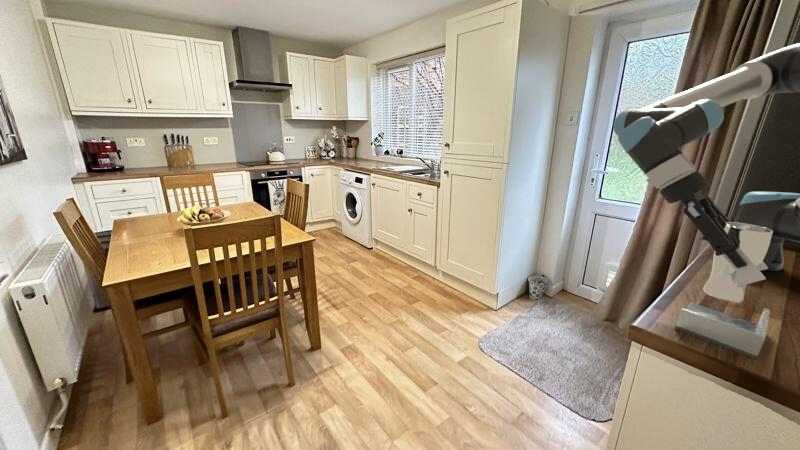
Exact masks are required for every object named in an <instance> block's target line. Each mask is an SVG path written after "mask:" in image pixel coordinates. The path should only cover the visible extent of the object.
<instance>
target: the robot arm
mask: <svg viewBox="0 0 800 450" xmlns="http://www.w3.org/2000/svg"><path fill="white" fill-rule="evenodd" d="M786 93H800V42H797V43H794V44H792V45H788V46H784V47H782V48H780V49H777V50H775V51H771V52H769V53H767V54H765V55H761V56H759V57H757V58H755V59H752V60H749V61H747V62H745V63H742V64H740V65H739V66H738V67H736V68H735V69H734V70H733V71H732V72H730V73H726V74H724V75H722V76H719V77H717V78H715V79H712V80H710V81H707V82H704V83H702V84H699V85H697V86H695V87H693V88H690V89H688V90H685V91H682V92H680V93H677V94H674V95H672V96H669V97H667V98H665V99H662V100H659V101H656V102H655V103H651V104H649V105H646V106H643V107H641V108H632V109H625V110H623V111H620V113H619V114H618V115H617V116H616V117H615V119H614V121H613V132H614V133H615V135H616V136H617V141H618V143H619V144H620V146H621V147H622V149H623V150H624V152H625V153H626V154H628V156H629V157H630V158H631V159H632V161H633V162H634V163H635V165H636V166H637V167H638V168H639V169H640V170H641V171H642V173H643V174H644V175H645V176H646V177H647V179H646V182H647V183H652V185H653V186H654V187H655V188H656V189H659V188H660V190H659V194H660V195H661V196H662V197H663V199H664V200H665V201H666V202H667V203H668V204H670V205H671V204H674V203H677V202H679V201H681V202H682V204H683V206H684V208H683V214H684V215H686V217H688V218H689V219H690V220H691V222H692V223H693V225H695V227H696V228H697V230H698V231H699V232H700V234H702V236H703V238H705V240H706V241H707V242H708V243H709V245H710V246H711V247H712V248H713V250H714V251H715V252H716V253H715V254H716V255H717V256H719V255H723V256H724V257H725V258H726V260H727V261H728V262H729V263H730V264H731V266H732V267H733V268H734V269H735V270H736V272H737V273H738V274H739V275H740V276H741V278H742V279H743V280H744V281H745V282H746V285H750V284H753V283H754V284H755V283H757V282H760V281H764V280H767V278H766V276H764V274H763V273H762V272H761V271H765V272H766V271H767V272H779V271H781V270H782V269H783V265H784V249H783V245H784V242H785V240H789V241H792V242H797V243H800V193H798V192H796V193H795V192H781V191H749V192H747V193H745V194H744V195H743V198H742V199H741V201H740V203H739V207H738V210H737V213H736V214H735V215H736V216H735V219H734V221H733V222H738V223H746V224H752V225H757V226H761V227H765V228H768V229H771V230H772V231H773V234H772V237H771V241H770V244H769V247H768V250H767V253H766V255H765V257H764V259H763V261H762V262H761V264H760V265H759V267H758V268H757V267H756V266H755V265H754V264H753V262H752V261H751V260H750V259H749V258H748V256H747V255H746V254H745V253H744V252H743V251H742V250H741V249H740V248H737V245H735V244H734V242H733V241H732V240H731V238H730V237H729V236H728V234H727V233H726V231H725V230H724V229H723V228H724V225H725V223H726V222H731V220H730V219H729V218H728V217H727V216H726V215H725V214H724V213H723V211H722V210H721V209H720V208H719V207H718V206H717V205H716V203H714V201H713V200H712V198H711V197H710V196H704V195H703V194H702V193H701V192H700V191H702V190H703V189H705V188H707V187H708V186H709V185H710V183H709V181H708V180H707V179H706V178H705V176H704V175H703V174H702V173H701V172H700V171H697V170H695V169H696V166H695V165H694V164H693V163H692V162H691V160H690V159H689V158H688V157H687V155H685V154H684V153H683V152H682V151H681V149H680V148H682V147H684V146H686V145H687V144H690V143H692V142H694V141H696V140H699V139H700V138H702V137H706V136H707V135H708V134H709V133H711V132H712V131H714V130H716V129H718V128H719V127H720V126H721V124H723V122H724V119H725V115H724V114H725V113H724V110H723V107H726V106H729V105H731V104H733V103H735V102H736V103H737V102H738V101H741V100H754V99H757V98H759V97H763V96H765V95H773V94H774V95H775V94H786Z"/></svg>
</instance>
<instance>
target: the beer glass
mask: <svg viewBox="0 0 800 450" xmlns="http://www.w3.org/2000/svg"><path fill="white" fill-rule="evenodd" d="M723 229H724V230H725V231H726V233H727V234H728V236H729V237H730V238H731V240H732V241H733V242H734V244H735V245H737V248H740V249H741V250H742V251H743V252H744V253H745V254H746V255H747V256H748V258H749V259H750V260H751V261H752V262H753V264H754V265H755V266H756V267H757V268H758V267H759V265H760V264H761V262H762V261H763V259H764V257H765V255H766V253H767V250H768V247H769V244H770V241H771V237H772V234H773V231H772V230H771V229H768V228H765V227H761V226H757V225H752V224H746V223H738V222H734V221H730V222H726V223H725V225H724V228H723ZM715 253H716V252H715V250H714V253H713V260H712V267H711V272H710V273H711V274H710V276H709V278H708V280H707V281H706V283H705V284H704V286H703V287H702V290H703V292H704V293H705V294H707V295H709V296H710V297H713V298H715V299H719V300H721V301H725V302H730V303H742V302H743V301H744V298H745V290H746V287H747V284H746V282H745V281H744V280H743V279H742V278H741V276H740V275H739V274H738V273H737V272H736V270H735V269H734V268H733V267H732V266H731V264H730V263H729V262H728V261H727V260H726V258H725V257H724V256H723V255H719V256H717V255H716V254H715Z"/></svg>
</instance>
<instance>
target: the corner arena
mask: <svg viewBox="0 0 800 450" xmlns="http://www.w3.org/2000/svg"><path fill="white" fill-rule="evenodd" d="M770 312H771V309H768V308H763V311H762V313H761V315H760V317H759V320H758V322H757V323H755V322H752V321H749V320H747V319H742V318H740V317H737V316H733V315H731V314H729V313H725V312H722V311H719V310H716V309H713V308H709V307H707V306H703V305H701V304H697V303H694V302H689V303H688V305H687V307H686V308H684V307H681V309H680V313H679V315H678V317H677V321H676V324H675V326H674V329H676V330H678V331H681V332H682V333H685V334H689V335H690V336H694V337H695V338H699V339H701V340H703V341H704V340H705V341H707V342H710V343H711V344H714V345H717V346H719V347H722V348H724V349H727V350H730V351H732V352H735V353H738V354H740V355H743V356H746V357H747V358H750V359H753V360H757V358H758V356H759V354H760V351H761V349H762V348H763V345H764V343H765V340H766V339H767V332H768V326H769V320H770Z"/></svg>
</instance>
